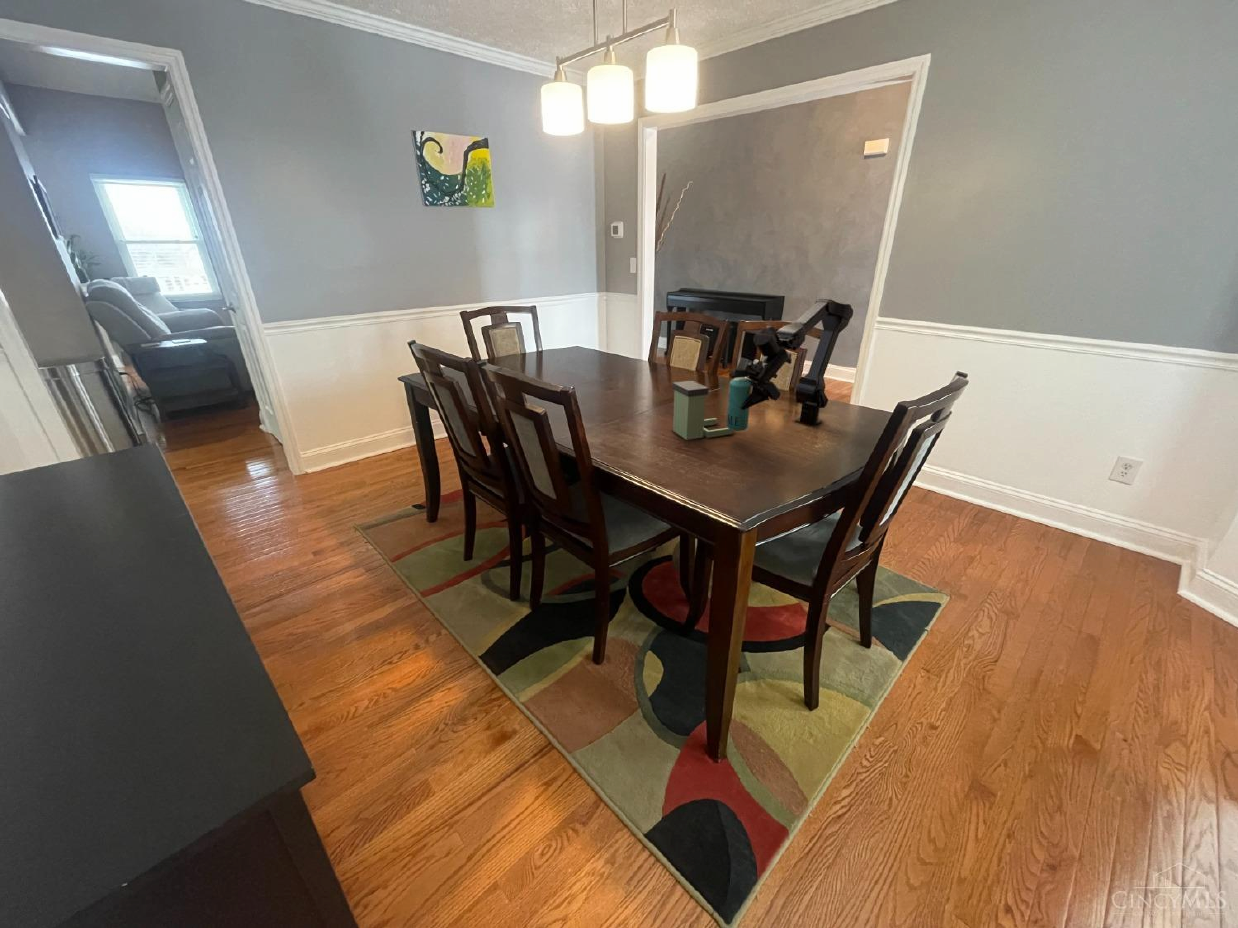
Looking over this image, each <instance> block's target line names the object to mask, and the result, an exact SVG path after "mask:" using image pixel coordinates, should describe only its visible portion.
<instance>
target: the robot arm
mask: <svg viewBox="0 0 1238 928" xmlns="http://www.w3.org/2000/svg"><path fill="white" fill-rule="evenodd" d="M814 302H815V303H814V304H813V305H812V306H811V307H810V308H809V309H807V311H806V312H804V313H803V314H802V315H801V316H800V317H798V319H796V320H795V321H794V322H792V323H788V324H785V325H783V326H782V327H780V328H778V330H777V331H776V329H775V327H774V326H771V325H766V328H763V329H761V330H759V331H758V332H756V333H755V334H754V336H753V338H752V340H753V344H754V345H755V346H756V348H757V349H758V351H759V353H760V354H761V356H762V357H763V358H762V359H761V360H759V359H754V360H750V359H747V358H744V357H740V359H739V362H738V363H737V366H736V367H740V368H743V369H744V370H746V371H747V372H748V373H749V374H748V376H747V377H742V378H747V379H748V380H749V381H750V382H751V392H750V395H749V397H748V398H747V399H746V401H745V402H744V403H743V405H742V406H741V409H742V410H745V409H747V408H749V409H750V408H751V407H753V406H755V405H756V406H757V404H760V403H763V402H765V401H770V399H771V400H773V401H775V402H776V401H777V400H778V399H779V398H780V397H781V389H779V388H778V387H777V385H776V384H775V383H774V382H773V381H771V380H772V379H777V377H778V374H777V373H778V372H779V371H780V370H781V368H782V367H783V366H784V365H785V364H786V363H787V364H789V365H791V364H792V354H791V353H789V352H787V350H789V351H797V350H798V349H800V348H801V346H802V345H803V344H804V343H805V341H806V336H807V334H808V333H809V332H810V331H811V330H813V328H814V327H816V326H817V324H819V323H820V322H821V324H822V329H823V330H822V333H821V335H820V338H819V341H818V344H817V347H816V349H815V353H814V355H813V358H812V361H811V364H810V367H809V369H808V372H807V374H805V375H803V376H802V375H801V376H799V379H798V382H797V385H796V387H795V401H796V402H795V403H796V404H801V408H800V409H801V410H800V416H799V418H797V419H794V420H795V422H796V423H799V424H804V425H807V426H812V427H814V426H815V425H818V424H821V423H822V422H823V420H822V419H819V416H820V411H821V410H820V409H824V408H826V406H827V405H828V402H829V399H828V397H827V394H826V393H825V390H826V383H825V378H824V377H825V374H826V372H827V368H828V365H829V363H830V360H831V357H832V354H833V352H834V349H835V346H836V344H837V340H838V338H839V335H840V333H841V332H842V331H843V330H845V329H847V327H848V325H849V323H850V321H851V319H852V318H853V315H854V309H853V308H852V304H849V303H841V302H838V301H836V300H833V299H832V298H831V299H830V298H829V299H828V298H819V299H817V300H816V301H814ZM734 371H735V368H734V369H732V370H731V371H730V373H729V376H730V377H731V378H732V380H733V379H734V378H739V377H737V376H734Z"/></svg>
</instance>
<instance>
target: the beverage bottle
mask: <svg viewBox="0 0 1238 928" xmlns="http://www.w3.org/2000/svg"><path fill="white" fill-rule="evenodd" d="M734 369H735V371H734V376H737V377H739V378H734V379H733V378H732V379H731V380H730V381H729V389H728V398H727V399H728V403H727V404H728V405H727V412H726V414H727V415H726V428H729V429H731V430H733V432H734V431H736V432H741V431H745V430H748V426H749V417H750V415H749V414H750V413H749V412H750V407H749V408H747V409H745V410H742V409H741V406H742V405H743V403H744V402H745V401H746V399H747V398H748V397H749V395H750V394H751V392H752V386H751V382H750V381H749V380H748V379H747V378H742V377H749V376H748V374H749V373H748V372H747V371H746V370H744V369H743V368H740V367H737V366H736V367H735V368H734Z"/></svg>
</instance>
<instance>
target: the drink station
mask: <svg viewBox="0 0 1238 928" xmlns="http://www.w3.org/2000/svg"><path fill="white" fill-rule="evenodd" d="M672 390H673V391H674V393H673V418H672V419H673V421H672V422H673V423H672V431H673V432H674V433H675V434H677V435H678V436H679V437H681V438H683V440H686V441H689V440H694V439H695V440H696V439H702V438H704V437H706V438H707V439H709V438H710V439H711V438H716V437H722V436H728V435H733V434H734V430H731V429H729V428H728V427H724V428H717V429H712V430H711V429H707V428H705V427H708V426H714V425H717V420H718V419H717V418H716V417H713V418H706V419H705V412H706V411H705V410H706V398H707V395H709V387H707V386H705V385H703V384H701V383H699V382H696V381H694V380H685V381H683V380H682V381H674V382H672Z"/></svg>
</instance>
